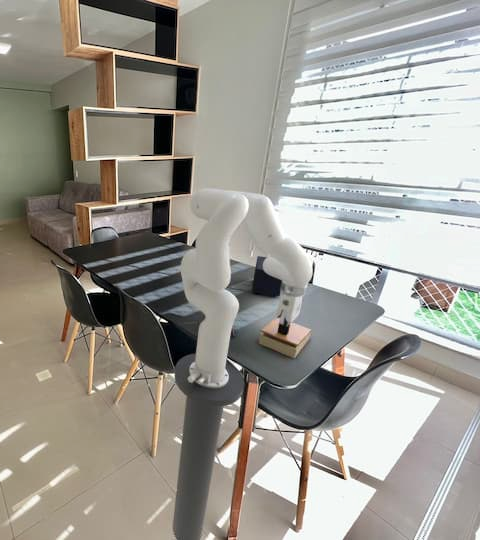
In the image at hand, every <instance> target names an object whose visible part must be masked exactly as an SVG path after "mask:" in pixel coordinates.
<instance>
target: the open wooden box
mask: <svg viewBox="0 0 480 540" xmlns="http://www.w3.org/2000/svg"><path fill="white" fill-rule="evenodd" d="M311 333H312V331H311V332H310V333H309V334H308V335H307V336H306V337H305V338H304V339H303V340H302V341H301V342H300V343H299V345H298V346H296V345H293V344H291V343H288V342H286V341H283V340H281V339H279V338H276V337H274V336H271V335H269V334H266V333H264V332H261V333H260V334H259V338H258V341H257V343H258V344H260V345H262V346H264V347H267V348H269V349H271V350H273V351H276V352H278V353H280V354H282V355H285V356H287V357H289V358H292V359H295V358H296V357H297V356H298V354H299V353H300V352H301V351H302V349H303V348H304V346H305V345H306V344H307V343H308V341H309V340H310V337H311Z"/></svg>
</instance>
